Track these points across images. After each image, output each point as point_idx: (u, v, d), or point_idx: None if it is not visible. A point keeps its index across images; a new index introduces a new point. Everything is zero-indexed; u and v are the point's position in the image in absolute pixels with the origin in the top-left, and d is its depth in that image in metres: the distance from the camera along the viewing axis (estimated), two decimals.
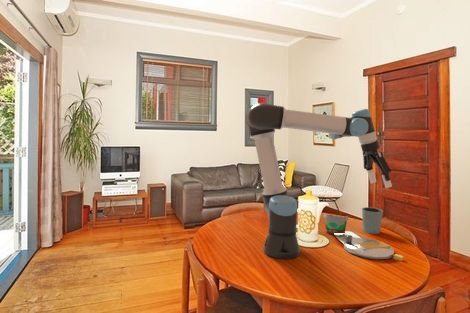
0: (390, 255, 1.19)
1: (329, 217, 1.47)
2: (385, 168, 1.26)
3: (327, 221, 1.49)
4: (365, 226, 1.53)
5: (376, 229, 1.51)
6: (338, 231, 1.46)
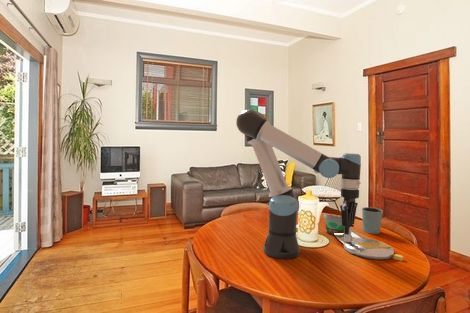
0: (389, 255, 1.19)
1: (329, 217, 1.47)
2: (343, 222, 1.25)
3: (327, 221, 1.49)
4: (365, 226, 1.53)
5: (376, 229, 1.51)
6: (338, 231, 1.46)
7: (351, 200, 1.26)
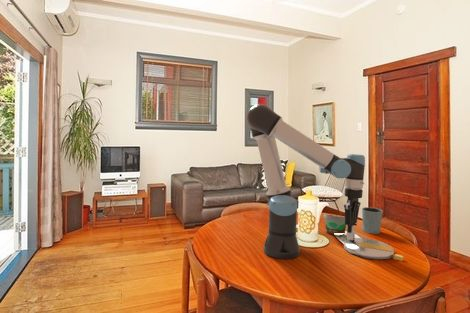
0: (376, 256, 1.17)
1: (329, 217, 1.47)
2: (346, 220, 1.29)
3: (327, 221, 1.49)
4: (365, 226, 1.53)
5: (376, 229, 1.51)
6: (338, 231, 1.46)
7: (354, 200, 1.30)
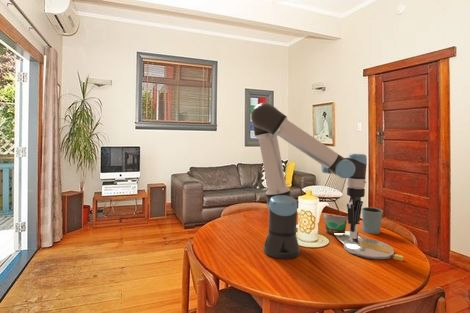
0: (368, 255, 1.18)
1: (329, 217, 1.47)
2: (349, 219, 1.31)
3: (327, 221, 1.49)
4: (365, 226, 1.53)
5: (376, 229, 1.51)
6: (338, 231, 1.46)
7: (357, 199, 1.31)
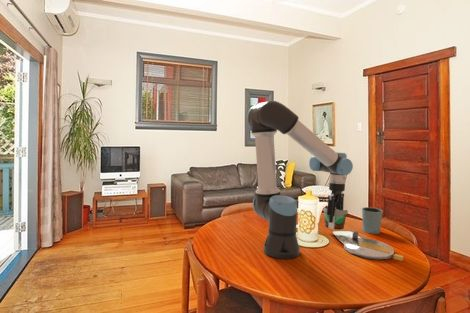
0: (368, 255, 1.18)
1: None
2: (328, 211, 1.43)
3: (326, 214, 1.49)
4: (365, 226, 1.53)
5: (376, 229, 1.51)
6: (337, 225, 1.45)
7: (338, 193, 1.46)
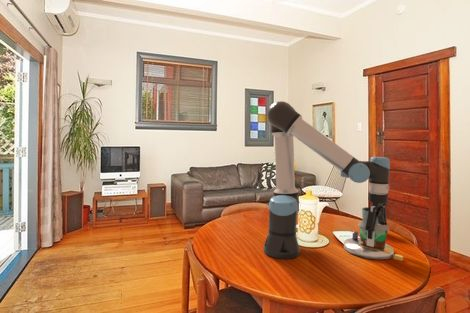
0: (368, 255, 1.18)
1: None
2: (367, 224, 1.18)
3: (363, 230, 1.24)
4: None
5: None
6: (377, 243, 1.20)
7: (379, 205, 1.23)
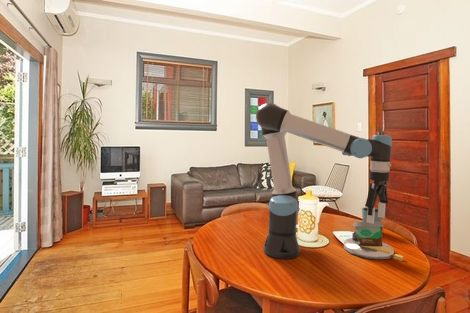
0: (368, 255, 1.18)
1: (360, 224, 1.24)
2: (368, 201, 1.18)
3: (358, 230, 1.25)
4: None
5: None
6: (374, 240, 1.20)
7: (381, 183, 1.22)
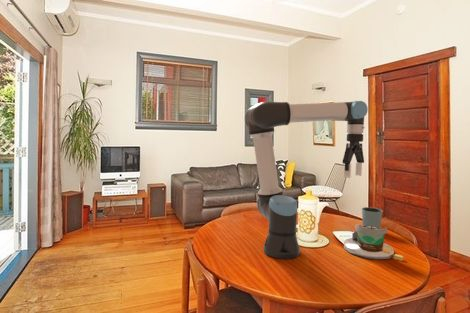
0: (368, 255, 1.18)
1: (363, 230, 1.20)
2: (344, 158, 1.36)
3: (361, 234, 1.22)
4: None
5: None
6: (375, 246, 1.19)
7: (356, 144, 1.41)
